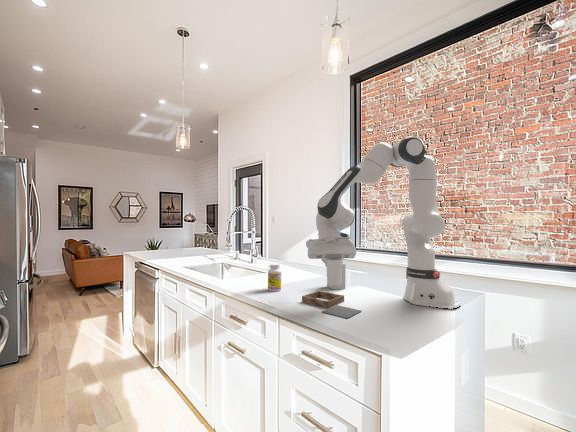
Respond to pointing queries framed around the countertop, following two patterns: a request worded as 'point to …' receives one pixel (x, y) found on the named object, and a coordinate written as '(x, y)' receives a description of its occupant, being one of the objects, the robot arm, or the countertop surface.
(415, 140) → the robot arm
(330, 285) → the supplement box
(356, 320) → the countertop surface
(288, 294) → the countertop surface
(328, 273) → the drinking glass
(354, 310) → the charcoal mat
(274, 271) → the supplement bottle
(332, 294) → the walnut tray
